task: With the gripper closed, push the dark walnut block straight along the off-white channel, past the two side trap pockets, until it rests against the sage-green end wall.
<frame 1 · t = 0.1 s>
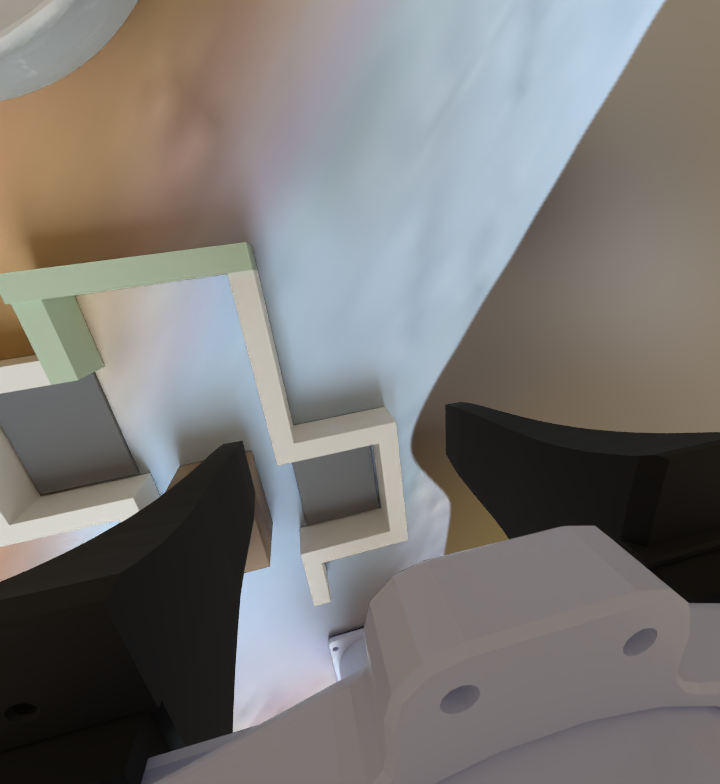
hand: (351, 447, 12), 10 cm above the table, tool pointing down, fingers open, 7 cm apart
walnut block: (229, 494, 23), resting in trap channel
trap channel: (216, 458, 22), on the table
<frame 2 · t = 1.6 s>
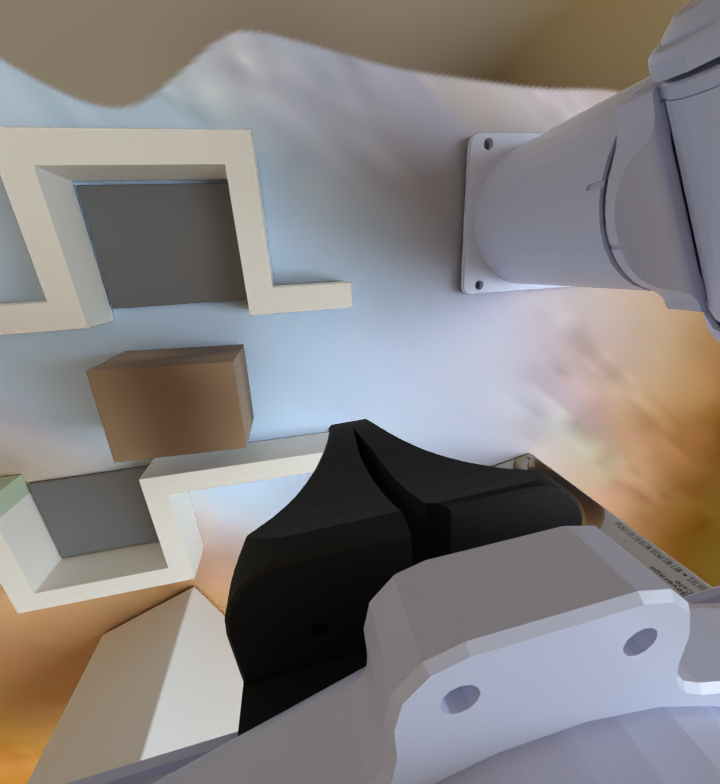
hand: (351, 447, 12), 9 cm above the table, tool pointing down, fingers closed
coffee box: (482, 500, 27), on the table
walnut block: (194, 385, 19), resting in trap channel
milk carton: (181, 632, 25), on the table
trap channel: (136, 393, 19), on the table
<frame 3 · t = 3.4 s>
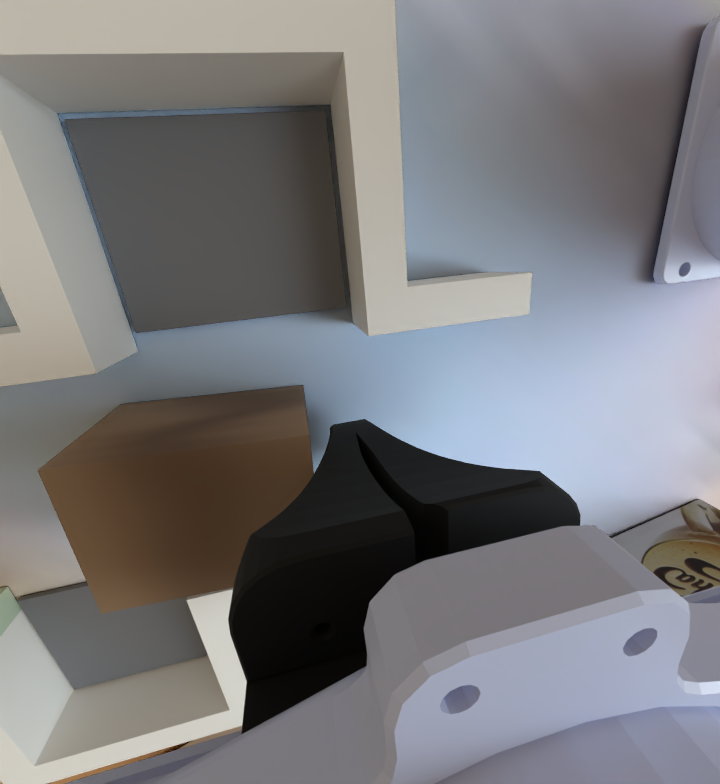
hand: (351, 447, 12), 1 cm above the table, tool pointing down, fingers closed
coffee box: (628, 561, 20), on the table
walnut block: (227, 451, 12), resting in trap channel, touching gripper
trap channel: (174, 459, 12), on the table
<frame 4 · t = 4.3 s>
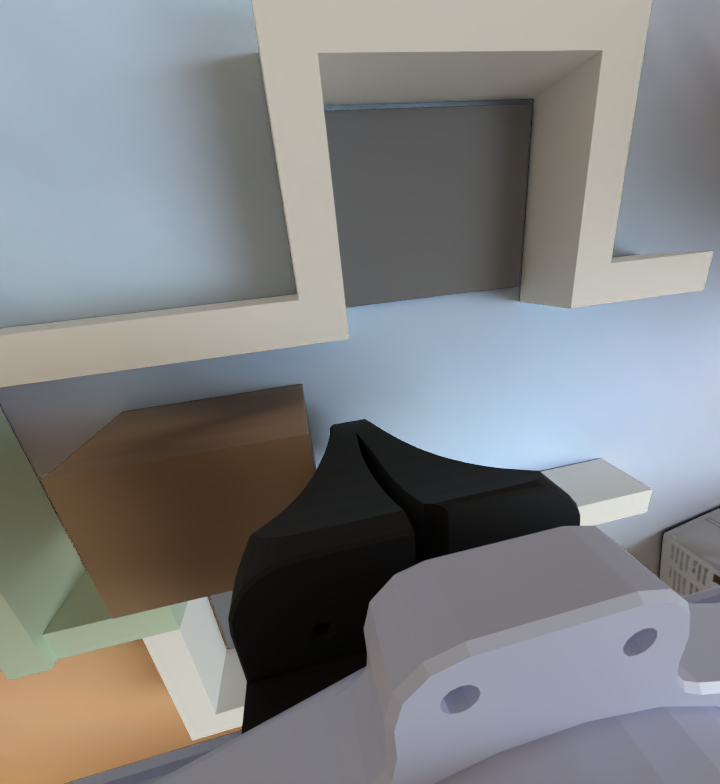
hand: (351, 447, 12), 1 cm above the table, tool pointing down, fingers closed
coffee box: (717, 536, 21), on the table
walnut block: (230, 453, 12), resting in trap channel, touching gripper
trap channel: (349, 428, 13), on the table
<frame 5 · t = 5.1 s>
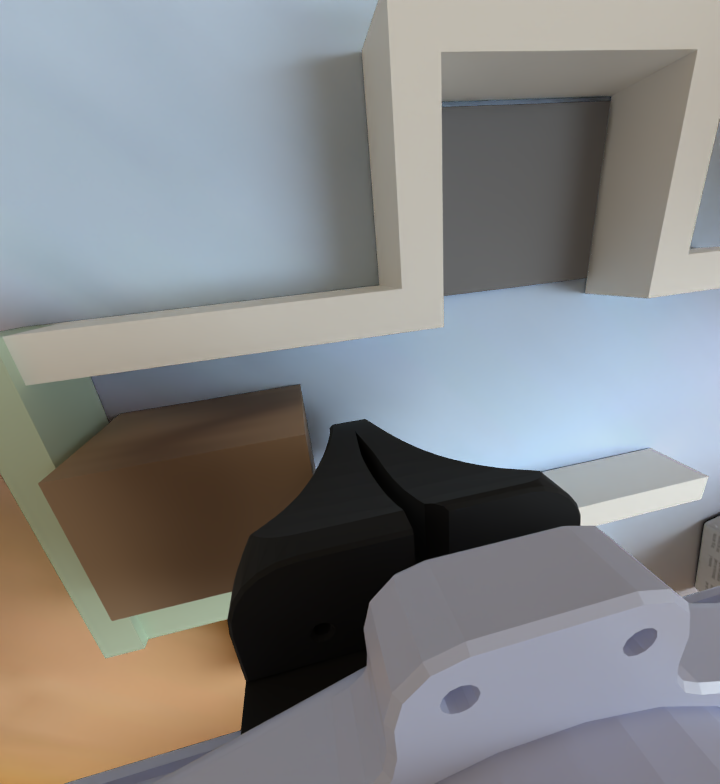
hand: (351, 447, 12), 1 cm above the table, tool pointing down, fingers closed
walnut block: (229, 454, 12), resting in trap channel, touching gripper
trap channel: (418, 416, 14), on the table
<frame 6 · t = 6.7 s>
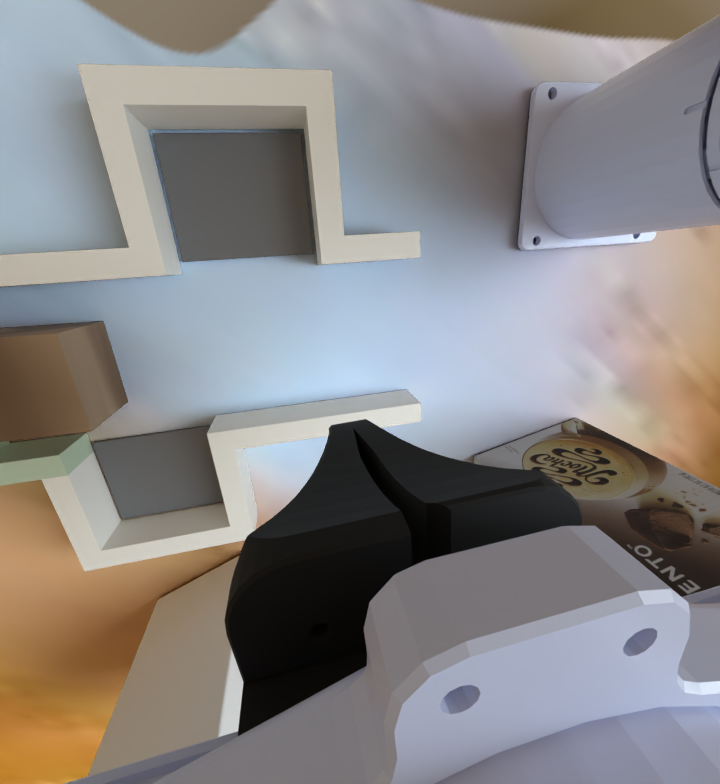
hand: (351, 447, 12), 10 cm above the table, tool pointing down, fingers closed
coffee box: (527, 466, 27), on the table
walnut block: (55, 367, 18), resting in trap channel
milk carton: (231, 599, 25), on the table
trap channel: (200, 350, 19), on the table
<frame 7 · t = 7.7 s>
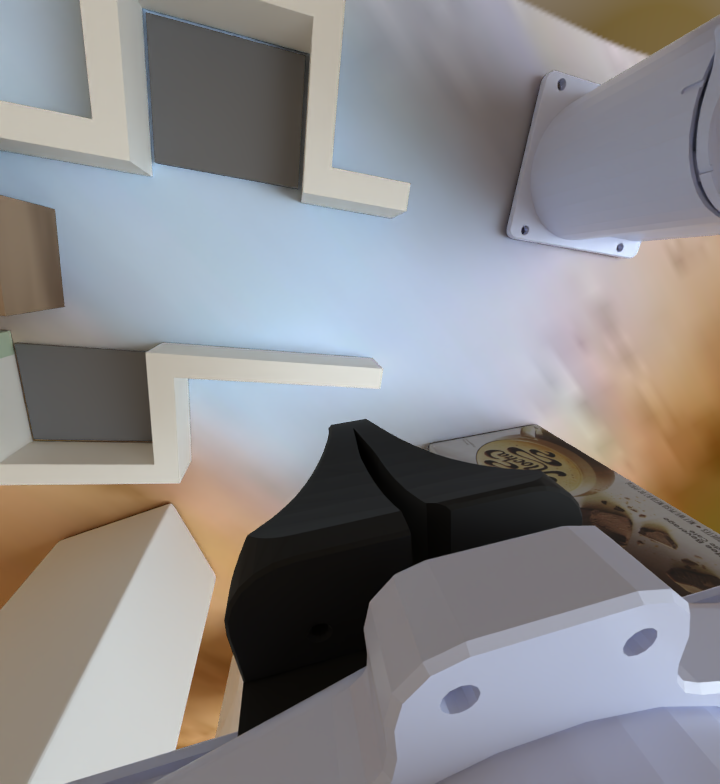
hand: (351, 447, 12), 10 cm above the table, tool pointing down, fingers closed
coffee box: (482, 466, 26), on the table
cup: (287, 641, 28), on the table
milk carton: (145, 555, 23), on the table
trap channel: (158, 265, 17), on the table
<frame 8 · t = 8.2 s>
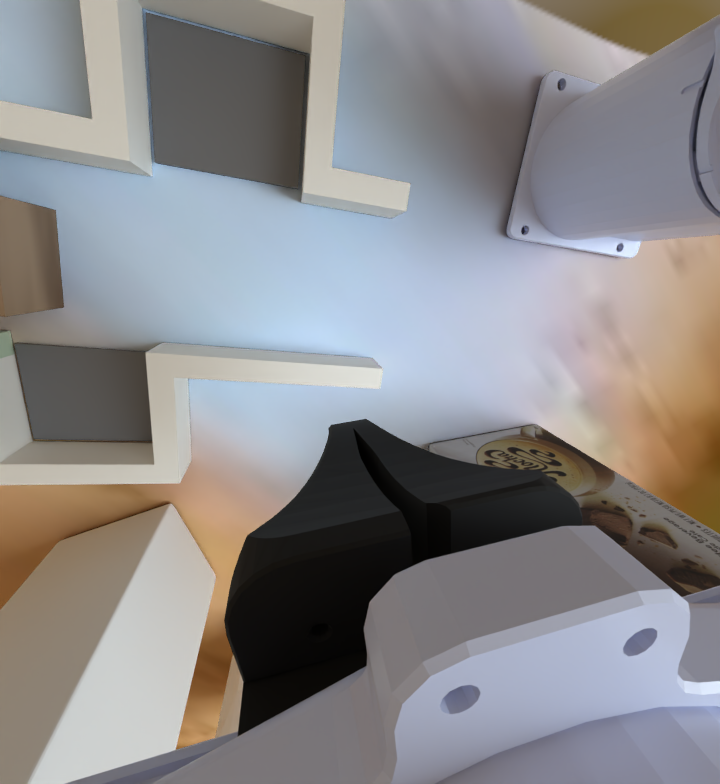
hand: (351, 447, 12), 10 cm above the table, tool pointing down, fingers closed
coffee box: (482, 466, 26), on the table
cup: (287, 641, 28), on the table
milk carton: (145, 555, 23), on the table
trap channel: (158, 265, 17), on the table
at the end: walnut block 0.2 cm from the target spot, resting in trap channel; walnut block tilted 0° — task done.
